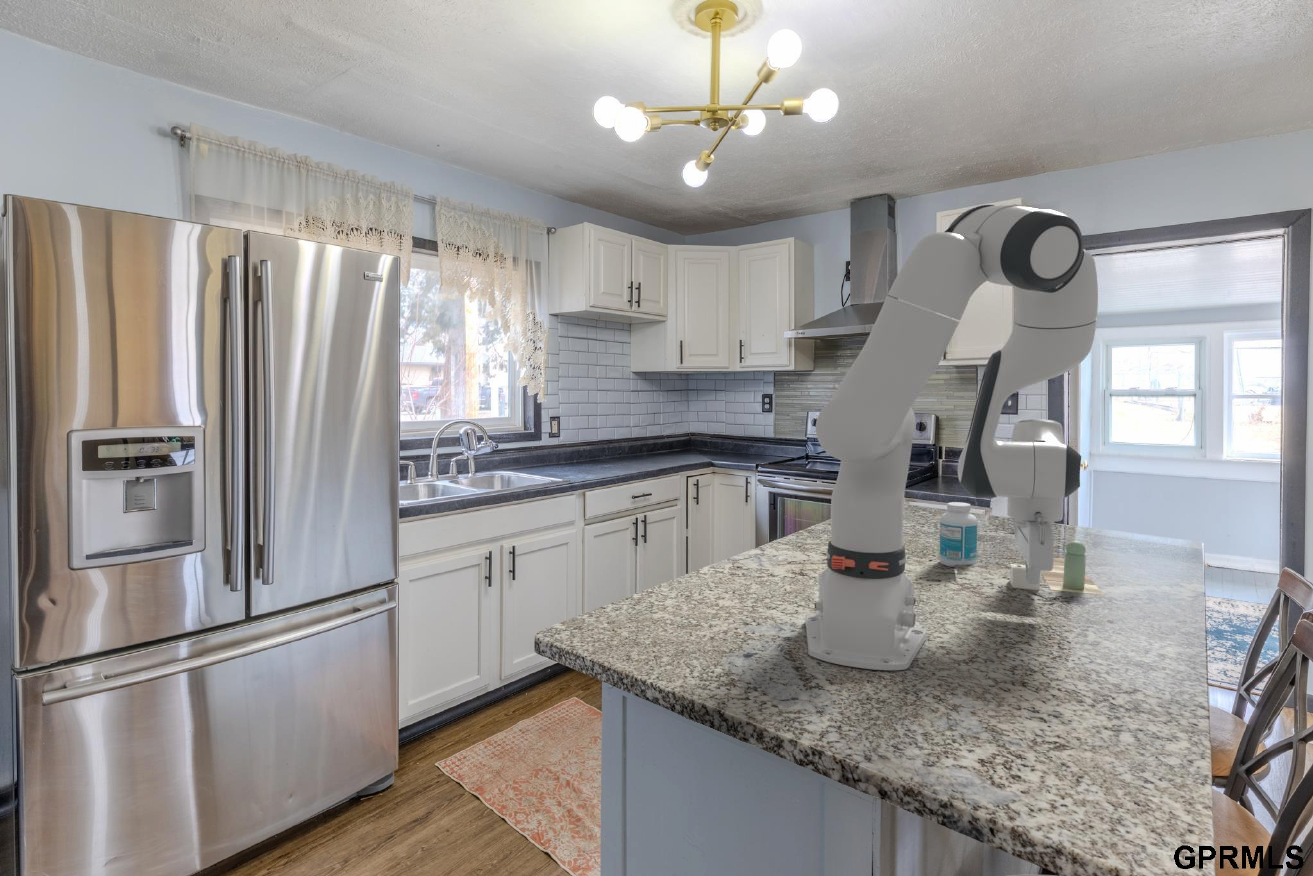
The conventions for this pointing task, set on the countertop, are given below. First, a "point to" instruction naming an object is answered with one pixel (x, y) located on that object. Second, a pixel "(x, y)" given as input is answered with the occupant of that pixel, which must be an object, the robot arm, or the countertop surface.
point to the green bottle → (1074, 566)
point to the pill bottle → (958, 535)
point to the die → (1021, 578)
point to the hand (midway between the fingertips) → (1032, 582)
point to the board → (1060, 576)
